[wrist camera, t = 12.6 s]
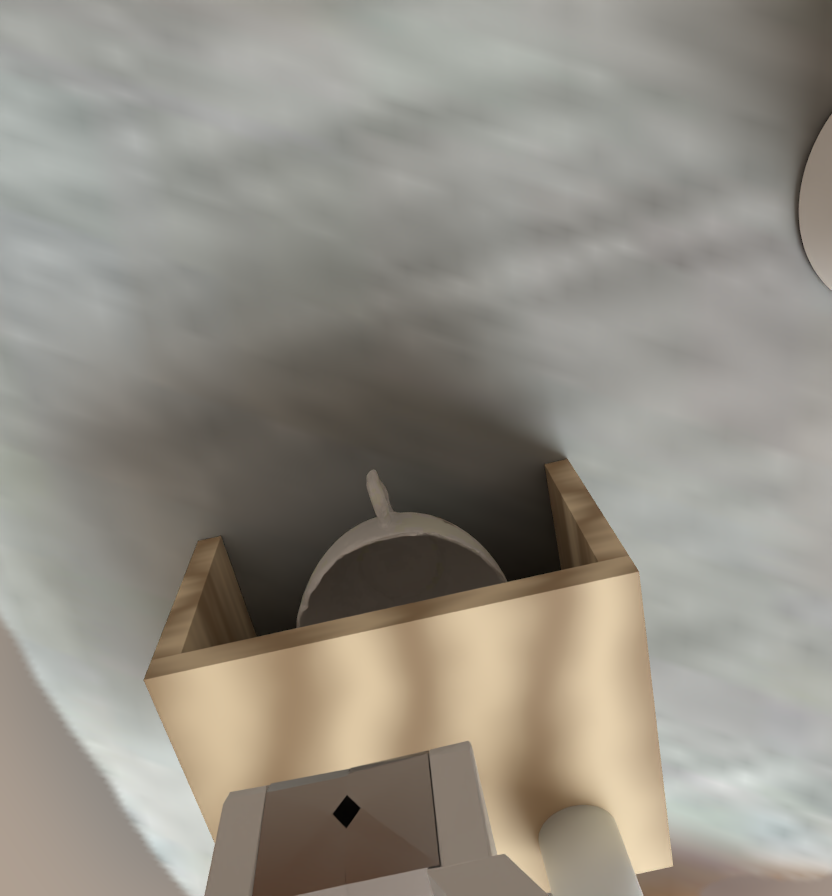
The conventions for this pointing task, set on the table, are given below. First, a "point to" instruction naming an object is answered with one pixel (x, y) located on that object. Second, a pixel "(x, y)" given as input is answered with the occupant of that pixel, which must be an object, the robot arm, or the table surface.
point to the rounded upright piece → (586, 854)
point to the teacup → (394, 563)
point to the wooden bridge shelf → (435, 689)
